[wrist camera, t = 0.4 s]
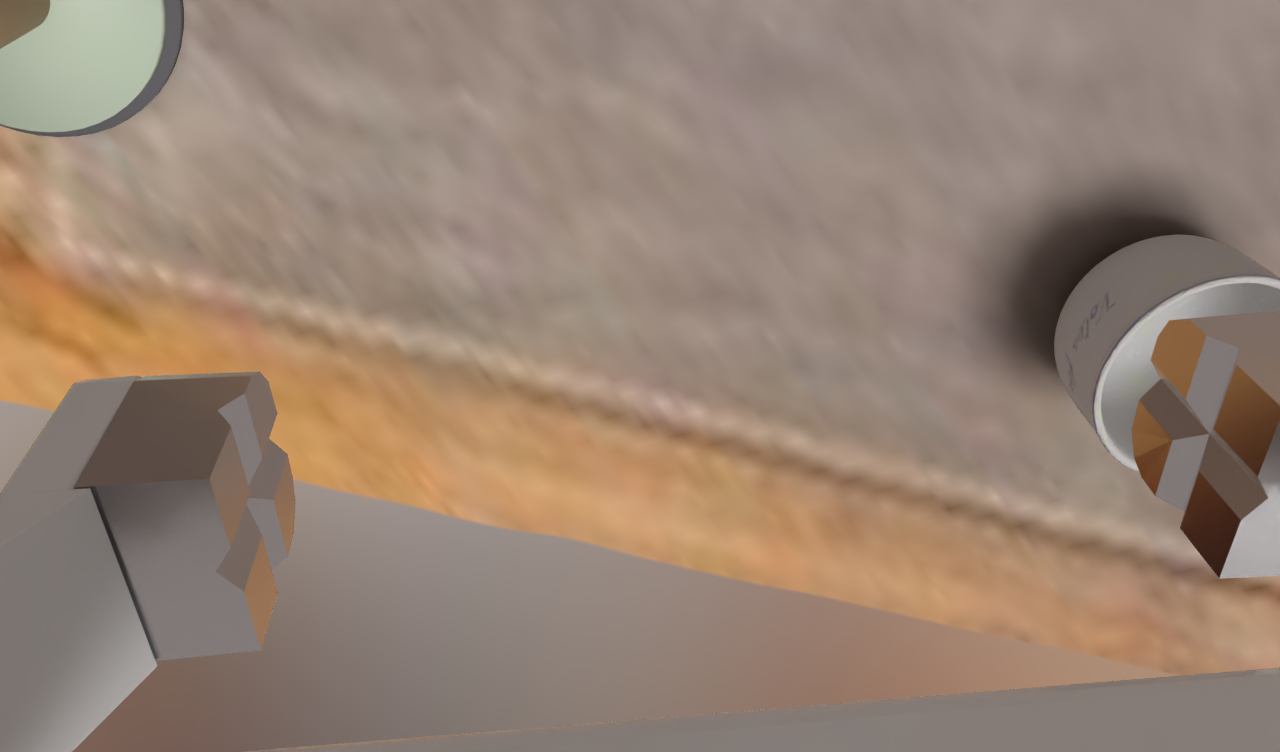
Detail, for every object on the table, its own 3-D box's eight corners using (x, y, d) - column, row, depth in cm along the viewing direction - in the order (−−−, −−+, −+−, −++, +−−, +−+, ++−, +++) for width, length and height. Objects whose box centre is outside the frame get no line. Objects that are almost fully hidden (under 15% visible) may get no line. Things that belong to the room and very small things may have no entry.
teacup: (1024, 241, 53) (1086, 321, 46) (1249, 180, 52) (1346, 253, 45) (1048, 454, 60) (1104, 549, 54) (1245, 405, 59) (1328, 497, 52)
